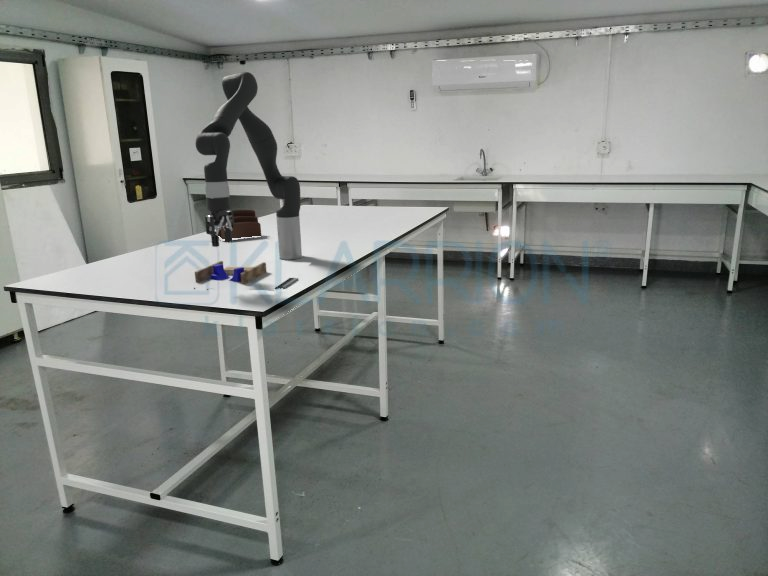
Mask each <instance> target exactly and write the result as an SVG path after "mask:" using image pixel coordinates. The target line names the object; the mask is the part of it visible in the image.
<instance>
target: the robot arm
mask: <svg viewBox="0 0 768 576" xmlns="http://www.w3.org/2000/svg"><path fill="white" fill-rule="evenodd" d="M221 86H222V90H223V93H224V96H225V97H226V99H227V101H226V102H224V103H223V104H222V105H221V106H219V108H218V109H217V110H216V112H215V113H214V115H213V118H212V119H211V122H210V123H208V124H207V125H206V126H205V127H203V129H202V130H201V131H199V133H198V134H197V136H196V138H195V148H196V150H197V152H198V153H199V154H201V155H203V156H215V158H214V159H215V160H214V161H213V162H210V163H205V165H204V167H203V173H204V182H205V186H204V187H205V188H204V189H205V198H206V199H205V201H206V209H207V211H208V212H210V215H205V217H204V220H205V233H206V235H209V236H210V237H211V238H210V239H211V246H212V247H214V248H217V247H220V240H219V237H218V232H219V230H220V229H221V227H223V228H224V230H225V231H224V232H225V241H224V242H226V243H232V242H233V241H232V234H231V231H232V228H235V224H234V216H233V211H230V210H232V209H231V207H232V206H231V196H230V195H231V194H230V187H229V182H228V173H227V172H228V171H227V167H228V161H229V156H230V155H229V154H230V149H231V142H230V139H229V137H230V136H231V134H232V132H233V130H234V128H235V126H236V123H237V121H238V120H239V122H240V124H241V126H242V128H243V130H244V133H245V135H246V137H247V139H248V141H249V143H250V146H251V148H252V150H253V152H254V154H255V156H256V157H257V160H258V162H259V165H260V167H261V169H262V172H263V174H264V175H263V176H264V178H265V180H266V183H267V186H268V189H269V191H270V194H271V195H272V196H273V197H274V198H275V199H279V200H284V202H283V205H282V206H281V207H279V208H277V209H276V211H275V215H276V229H277V241H278V242H277V244H278V253H279V259H280V260H288V261H289V260H296V259H301V258H302V257H303V255H302V254H303V252H302V237H301V236H302V235H301V222H300V220H301V219H300V211H301V183H300V181H299V180H298V178H297V177H296V176H291V175H282V174H281V173H280V170H279V167H278V165H277V155H278V143H277V140H276V138H275V135H274V134H273V131H272V129H271V127H270V126H269V125H268V124H267V123H266V122H264V121H263V119H261V118H260V117H258V116H257V115H255V113H254V112H252V111H251V110H250V108H249V107H248V106H249V105H250V103H251V102H252V101H253V100H254V99H255V98H256V96H257V93H258V91H259V90H258V87H259V86H258V82H257V79H256V78H255V76H254V75H253V73H251V72H248V71H243V72H238V73H233V74H229V75H225V76H224V77H223V78H222V81H221ZM230 221H231V222H230ZM231 224H232V225H231Z"/></svg>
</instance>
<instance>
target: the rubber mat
mask: <svg viewBox="0 0 768 576" xmlns="http://www.w3.org/2000/svg"><path fill="white" fill-rule="evenodd" d="M297 281H299V278H298V277H289V278H287V279H286V280H285V281H283V282H281V283H280V284H278V285H277V286H276V287H275V289H279V288H283V289H286V288H288V287H289V286H291V285H292V284H294V283H296V282H297Z"/></svg>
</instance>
